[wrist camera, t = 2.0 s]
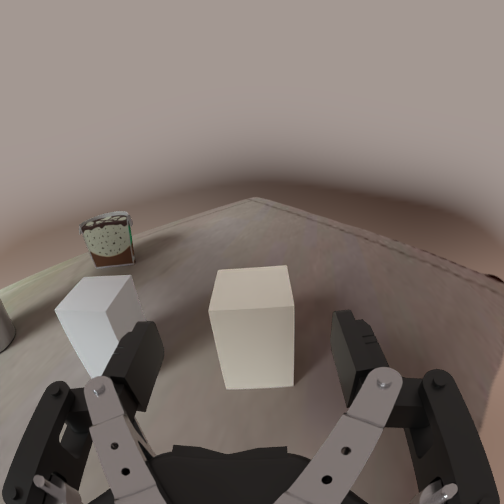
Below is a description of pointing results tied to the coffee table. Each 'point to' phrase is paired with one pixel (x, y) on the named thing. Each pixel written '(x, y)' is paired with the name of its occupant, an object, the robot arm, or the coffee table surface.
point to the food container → (109, 239)
